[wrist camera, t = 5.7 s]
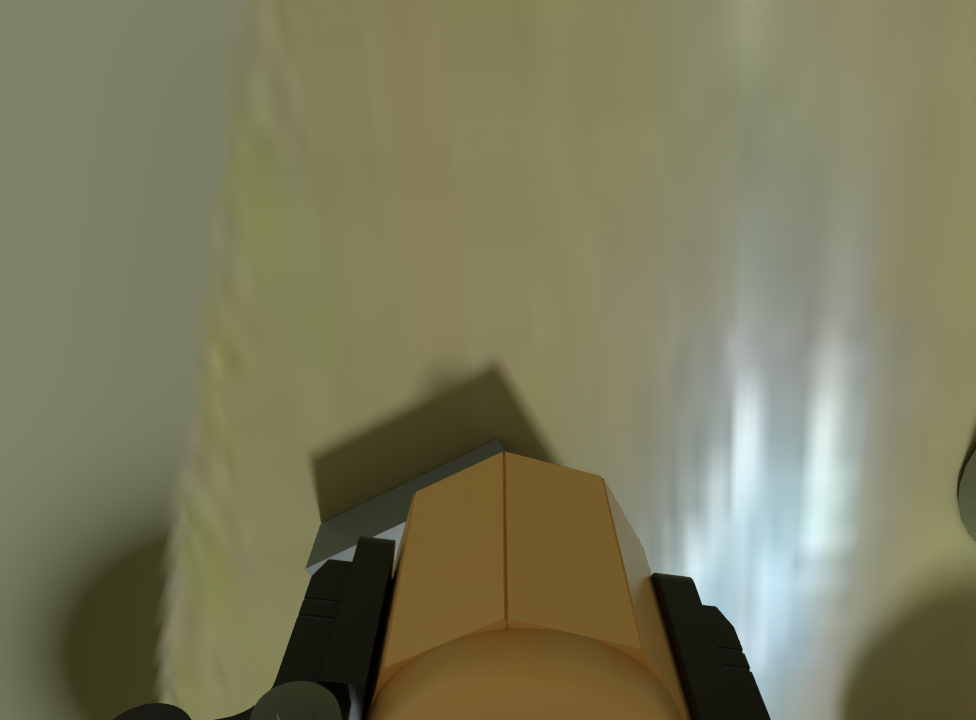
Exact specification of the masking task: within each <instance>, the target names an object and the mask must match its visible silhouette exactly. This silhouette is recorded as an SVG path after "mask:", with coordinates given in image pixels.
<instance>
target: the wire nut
mask: <svg viewBox="0 0 976 720" xmlns="http://www.w3.org/2000/svg"><path fill="white" fill-rule="evenodd" d="M364 720H691V716H690V713H689V709H688V706H687V702H686V699H685V695H684V691H683V688H682V684H681V681H680V677H679V674H678V670H677V667H676V663H675V660H674V656H673V653H672V649H671V646H670V642H669V638H668V635H667V631H666V628H665V624H664V621H663V617H662V614H661V610H660V607H659V603H658V600H657V596H656V593H655V589H654V585H653V582H652V578H651V572H650V568H649V565H648V561H647V558H646V554H645V551H644V548H643V546H642V544H641V543H640V541H639V539H638V537H637V536H636V534H635V532H634V530H633V529H632V527H631V525H630V523H629V522H628V520H627V518H626V516H625V515H624V513H623V511H622V509H621V508H620V506H619V504H618V502H617V501H616V499H615V497H614V495H613V494H612V492H611V490H610V489H609V487H608V485H607V483H606V482H605V480H604V478H602V479H601V476H599V475H595V474H591V473H587V472H583V471H579V470H575V469H572V468H568V467H564V466H560V465H556V464H552V463H548V462H544V461H540V460H536V459H533V458H529V457H525V456H521V455H517V454H513V453H509V452H505V455H504V454H503V452H501V453H499V454H497V455H494V456H492V457H490V458H488V459H486V460H484V461H482V462H479V463H477V464H475V465H473V466H471V467H469V468H467V469H464V470H462V471H460V472H458V473H456V474H454V475H452V476H449V477H447V478H445V479H443V480H441V481H439V482H437V483H434V484H432V485H430V486H428V487H426V488H424V489H422V490H419V491H417V492H416V495H415V494H414V496H413V500H412V503H411V507H410V510H409V513H408V517H407V520H406V524H405V527H404V530H403V534H402V537H401V541H400V544H399V547H398V551H397V554H396V558H395V561H394V564H393V573H392V581H391V586H390V591H389V596H388V601H387V606H386V612H385V617H384V622H383V627H382V632H381V637H380V642H379V647H378V652H377V657H376V662H375V667H374V672H373V677H372V683H371V688H370V693H369V698H368V703H367V708H366V713H365V718H364Z"/></svg>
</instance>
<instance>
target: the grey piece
mask: <svg viewBox="0 0 976 720" xmlns="http://www.w3.org/2000/svg"><path fill="white" fill-rule="evenodd" d="M501 452H503V454H504V455H505V452H506V450H505V448H504V447H503V445H502V444H501V442H500V440H499V439H498V438H497V439H495V440H493V441H491V442H489V443H487V444H484V445H482V446H480V447H478V448H476V449H474V450H472V451H470V452H468V453H466V454H464V455H462V456H460V457H458V458H456V459H453V460H451V461H449V462H447V463H445V464H443V465H441V466H439V467H437V468H435V469H433V470H431V471H429V472H427V473H424V474H422V475H420V476H418V477H416V478H414V479H412V480H410V481H408V482H406V483H404V484H402V485H400V486H398V487H396V488H393V489H391V490H389V491H387V492H385V493H383V494H381V495H379V496H377V497H375V498H373V499H371V500H369V501H367V502H364V503H362V504H360V505H358V506H356V507H354V508H352V509H350V510H348V511H346V512H344V513H342V514H340V515H338V516H336V517H333V518H331V519H329V520H327V521H325V522H323V523H321V525H320V528H319V530H318V533H317V536H316V539H315V542H314V545H313V548H312V551H311V554H310V557H309V560H308V563H307V566H306V568H305V569H306V570H307V572H308V573H309V574H310V575H311V576H312V575H313V574H314V573H315V572H316V571H317V570H318V569H319V568H320V567H321V566H322V565H323V564H324V563H325V562H326V561H327V560H328V559H334V560H342V561H351V562H352V560H353V557H354V553H355V550H356V546H357V543H358V539H359V537H360V536H365V537H374V538H382V539H390V540H396V545H395V555H394V561H395V558H396V554H397V551H398V547H399V544H400V541H401V537H402V534H403V530H404V527H405V524H406V520H407V517H408V513H409V510H410V507H411V503H412V500H413V496H414V494H415V495H416V492H417V491H419V490H422V489H424V488H426V487H428V486H430V485H432V484H434V483H437V482H439V481H441V480H443V479H445V478H447V477H449V476H452V475H454V474H456V473H458V472H460V471H462V470H464V469H467V468H469V467H471V466H473V465H475V464H477V463H479V462H482V461H484V460H486V459H488V458H490V457H492V456H494V455H497V454H499V453H501Z"/></svg>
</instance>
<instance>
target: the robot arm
mask: <svg viewBox="0 0 976 720" xmlns="http://www.w3.org/2000/svg"><path fill="white" fill-rule="evenodd" d="M958 506H959V511H960V516H961V520H962V522H963V524H964V526H965V528H966V530H967V532H968V533H969V535H970V536H971V537H972V538H973V539H974V540H975V541H976V450H975V451H974V453H973V455H972V456H971V458H970V460H969V461H968V463H967V465H966V467H965V470H964V473H963V476H962V479H961V482H960V486H959V497H958ZM395 545H396V540H390V539H382V538H374V537H365V536H360V537H359V539H358V543H357V546H356V550H355V553H354V557H353V560H352V562H351V561H342V560H334V559H328V560H327V561H326V562H325V563H324V564H323V565H322V566H321V567H320V568H319V569H318V570H317V571H316V572H315V573H314V574H313V575H312V577H311V580H310V583H309V585H308V588H307V591H306V594H305V598H304V601H303V603H302V606H301V608H300V611H299V616H298V618H297V620H296V623H295V626H294V629H293V631H292V634H291V637H290V640H289V643H288V646H287V649H286V652H285V655H284V657H283V660H282V663H281V666H280V669H279V672H278V675H277V678H276V680H275V682H274V685H273V687H272V688H271V690H269V691H268V692H267V693H266V694H264V695H263V696H262V697H261V698H260V699H259V700H258V702H257V703H256V705H255V706H253V707H252V708H250V709H248V710H246V711H244V712H242V713H240V714H237V715H234V716H231V717H227V718H222V719H216V720H364V718H365V713H366V708H367V703H368V698H369V693H370V688H371V683H372V677H373V672H374V667H375V662H376V657H377V652H378V647H379V642H380V637H381V632H382V627H383V622H384V617H385V612H386V606H387V601H388V596H389V591H390V586H391V581H392V573H393V564H394V555H395ZM651 578H652V582H653V585H654V589H655V593H656V596H657V600H658V603H659V607H660V610H661V614H662V617H663V621H664V624H665V628H666V631H667V635H668V638H669V642H670V646H671V649H672V653H673V656H674V660H675V663H676V667H677V670H678V674H679V677H680V681H681V684H682V688H683V691H684V695H685V699H686V702H687V706H688V709H689V713H690V716H691V720H771V719H770V717H769V714H768V712H767V709H766V707H765V704H764V702H763V699H762V697H761V694H760V692H759V689H758V686H757V684H756V681H755V679H754V676H753V674H752V672H750V666H749V664H748V661H747V659H746V656H745V654H743V653H742V650H743V649H742V646H741V644H740V641H739V639H738V636H737V634H736V631H735V629H734V627H733V626H732V624H731V623H730V622H729V621H728V620H727V619H726V618H725V616H724V615H723V614H722V613H721V612H720V611H719V609H718V608H717V607H715V606H707V605H702V603H701V600H700V597H699V594H698V592H697V589H696V586H695V583H694V581H693V579H692V578H691V577H685V576H677V575H669V574H661V573H653V574H652V575H651ZM113 720H191V718H190V717H189V716H188V714H187V713H186V712H185V711H183V710H182V709H180V708H178V707H176V706H174V705H170V704H164V703H152V704H145V705H141V706H138V707H135V708H132V709H130V710H127V711H125V712H123V713H122V714H120V715H119V716H117V717H116V718H115V719H113Z"/></svg>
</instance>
